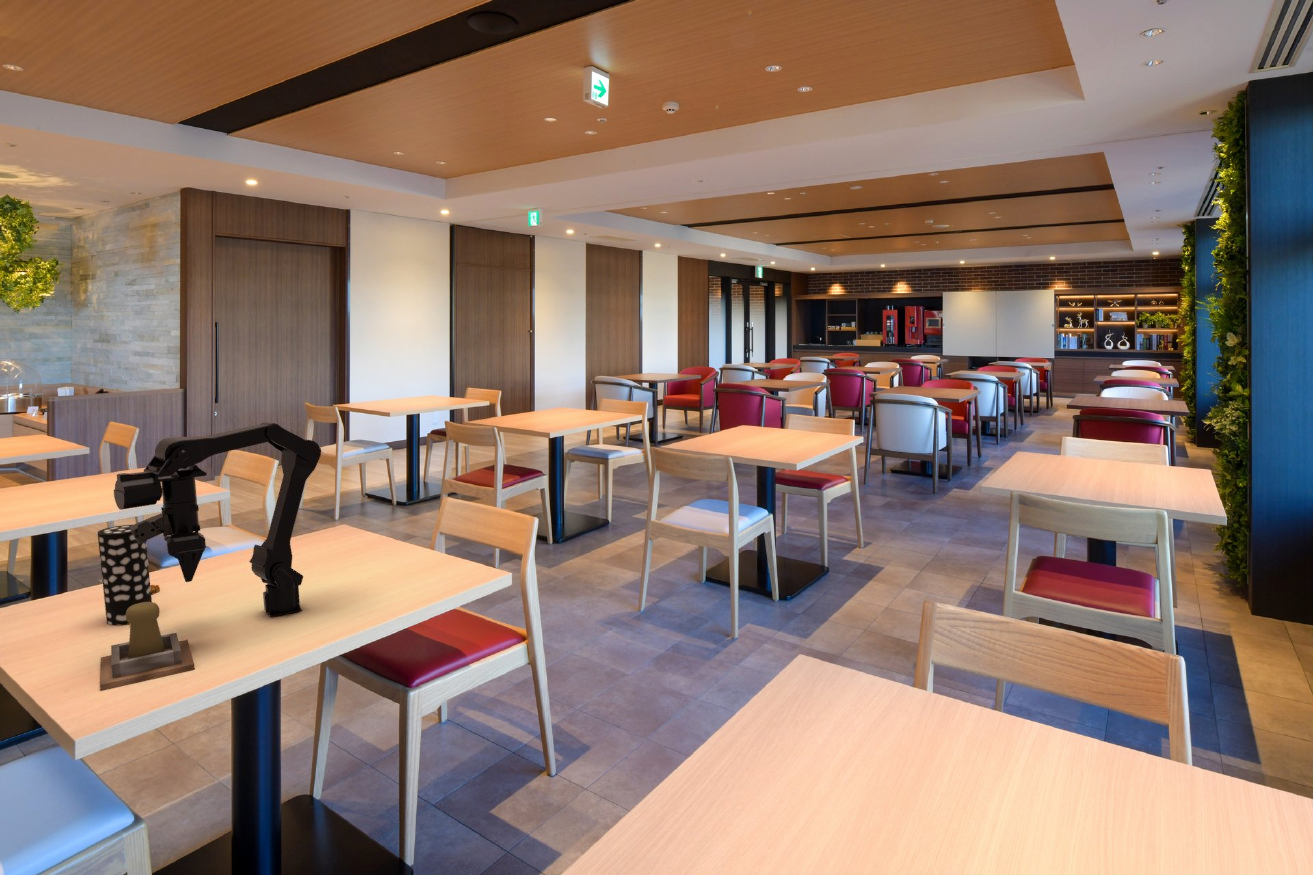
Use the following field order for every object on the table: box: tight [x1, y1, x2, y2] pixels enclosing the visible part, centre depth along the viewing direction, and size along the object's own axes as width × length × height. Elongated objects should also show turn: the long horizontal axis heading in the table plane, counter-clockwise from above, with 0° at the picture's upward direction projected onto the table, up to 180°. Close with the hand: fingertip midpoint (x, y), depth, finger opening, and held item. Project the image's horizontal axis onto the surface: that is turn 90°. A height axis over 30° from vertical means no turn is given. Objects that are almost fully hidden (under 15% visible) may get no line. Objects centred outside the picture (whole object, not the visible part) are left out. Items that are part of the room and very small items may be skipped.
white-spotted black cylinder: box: [97, 524, 153, 626], centre depth 161 cm, size 8×8×20 cm
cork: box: [126, 601, 165, 659], centre depth 138 cm, size 6×6×11 cm
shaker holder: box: [99, 632, 196, 691], centre depth 138 cm, size 14×14×4 cm
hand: (186, 575), depth 150 cm, fingers open, 9 cm apart
